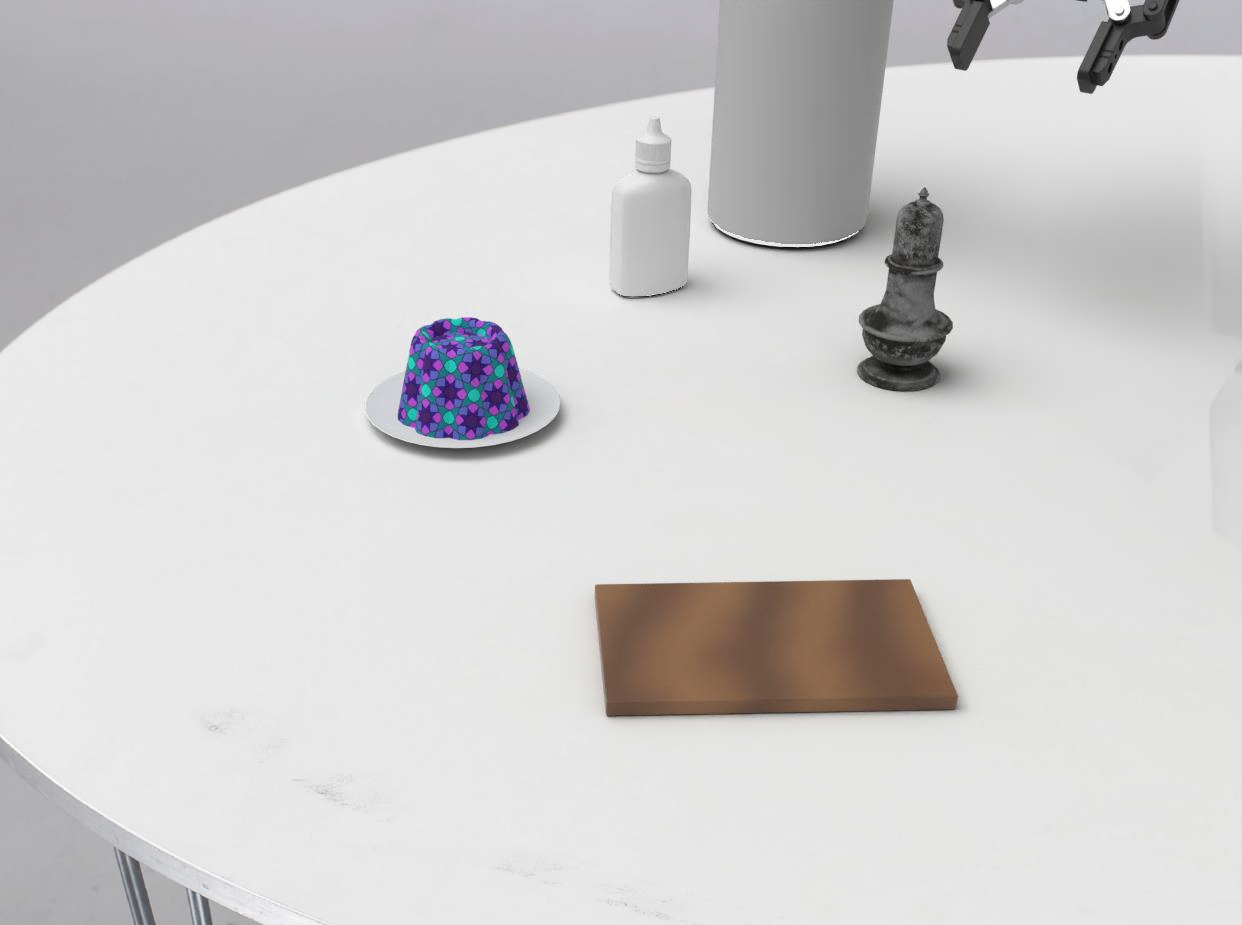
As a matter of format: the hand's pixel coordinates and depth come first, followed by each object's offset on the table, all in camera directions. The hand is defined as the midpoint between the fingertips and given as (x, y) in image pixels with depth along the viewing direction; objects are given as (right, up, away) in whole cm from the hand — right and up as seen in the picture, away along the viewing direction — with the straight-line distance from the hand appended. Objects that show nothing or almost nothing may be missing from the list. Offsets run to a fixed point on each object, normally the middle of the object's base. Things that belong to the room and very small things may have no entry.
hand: (1019, 74), depth 97 cm
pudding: (-35, -22, -2) cm, 41 cm away
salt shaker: (-7, -19, +2) cm, 20 cm away
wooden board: (-19, -37, -23) cm, 48 cm away
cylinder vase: (-11, -2, +25) cm, 27 cm away
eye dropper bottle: (-23, -10, +14) cm, 28 cm away
